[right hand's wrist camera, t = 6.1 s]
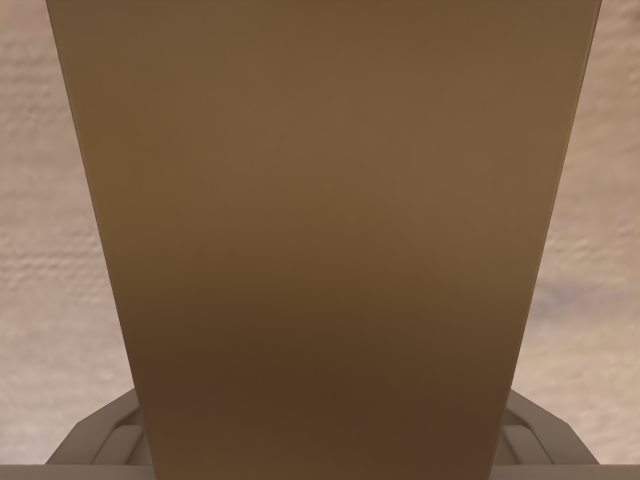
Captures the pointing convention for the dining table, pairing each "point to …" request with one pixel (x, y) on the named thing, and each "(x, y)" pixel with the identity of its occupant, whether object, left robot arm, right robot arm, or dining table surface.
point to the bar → (323, 219)
